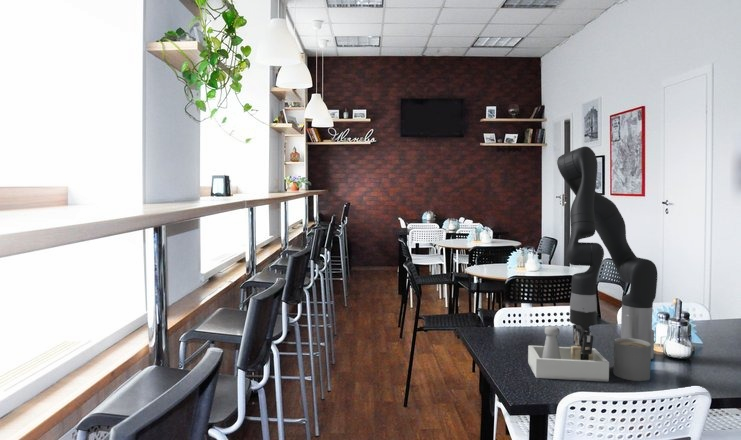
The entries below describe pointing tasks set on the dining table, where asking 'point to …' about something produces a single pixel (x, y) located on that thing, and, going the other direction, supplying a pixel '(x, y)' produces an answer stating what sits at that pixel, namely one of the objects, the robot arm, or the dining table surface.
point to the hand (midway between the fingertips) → (581, 363)
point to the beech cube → (578, 353)
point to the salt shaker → (551, 343)
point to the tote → (568, 365)
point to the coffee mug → (632, 359)
